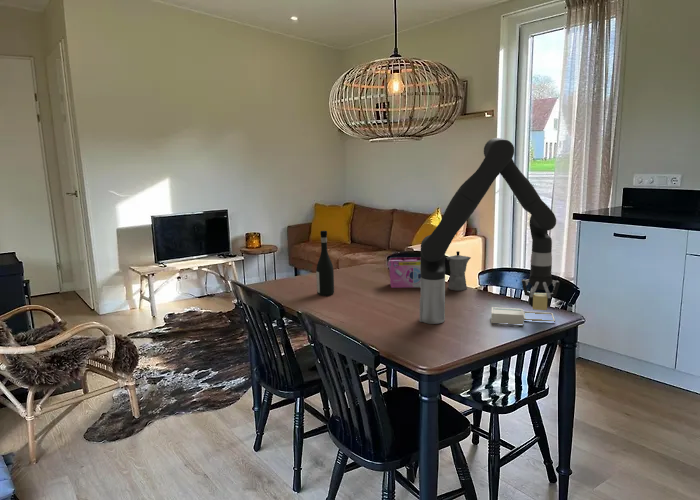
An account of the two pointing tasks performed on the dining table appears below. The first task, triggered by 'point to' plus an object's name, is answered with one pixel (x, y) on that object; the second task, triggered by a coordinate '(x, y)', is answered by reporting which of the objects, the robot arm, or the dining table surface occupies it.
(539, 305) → the beige block
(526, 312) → the tray
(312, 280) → the dining table surface
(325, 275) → the wine bottle
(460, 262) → the coffeepot
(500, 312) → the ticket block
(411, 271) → the gum box
